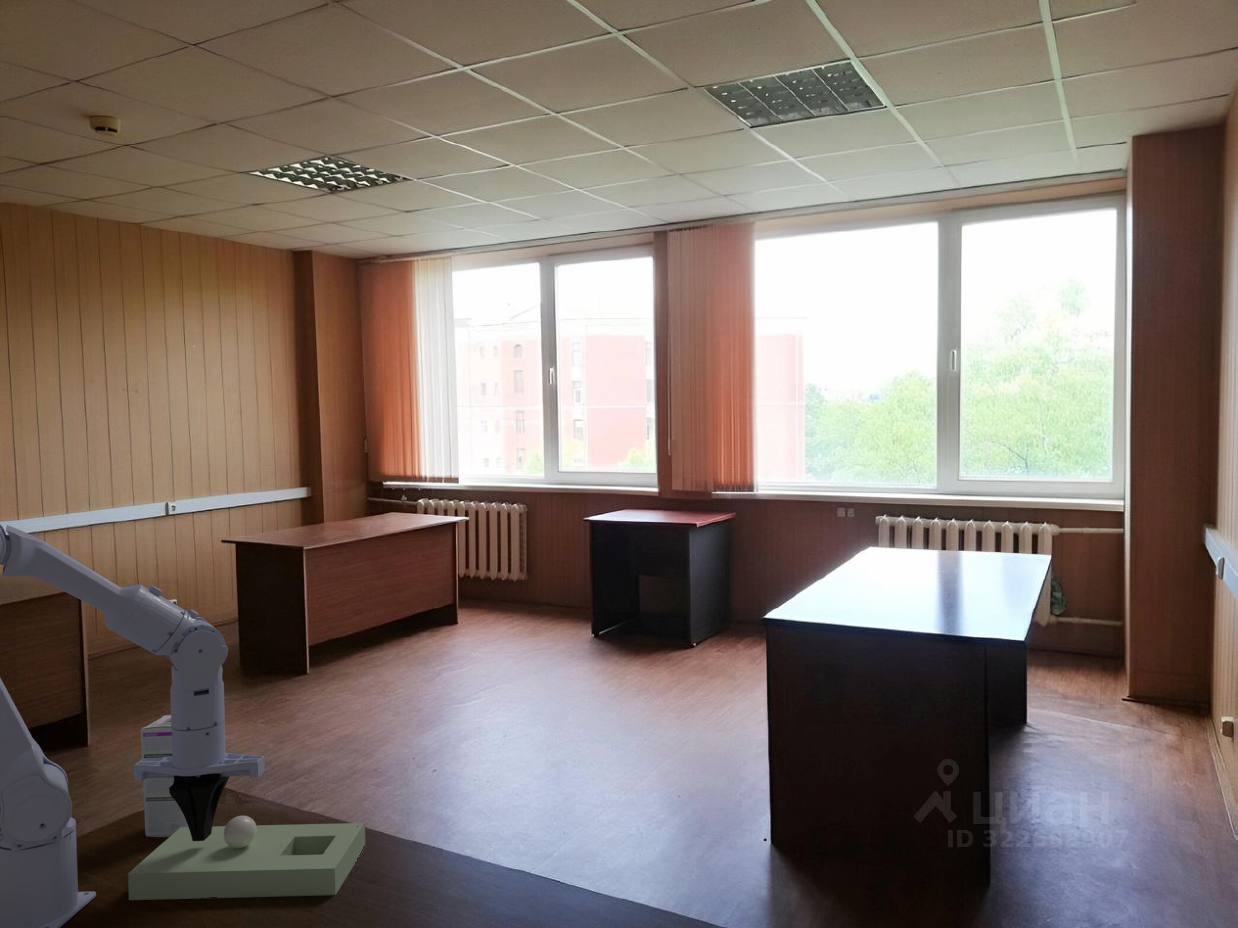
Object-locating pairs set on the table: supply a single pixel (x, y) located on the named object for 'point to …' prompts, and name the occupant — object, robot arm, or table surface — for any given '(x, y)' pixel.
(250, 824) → the ball
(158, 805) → the syrup box
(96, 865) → the table surface
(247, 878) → the green board
